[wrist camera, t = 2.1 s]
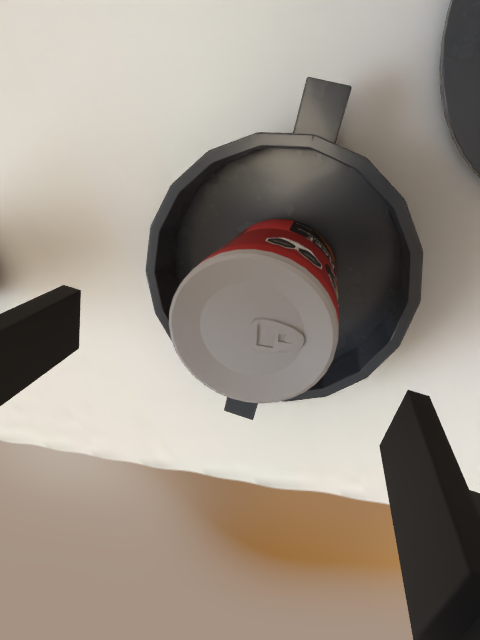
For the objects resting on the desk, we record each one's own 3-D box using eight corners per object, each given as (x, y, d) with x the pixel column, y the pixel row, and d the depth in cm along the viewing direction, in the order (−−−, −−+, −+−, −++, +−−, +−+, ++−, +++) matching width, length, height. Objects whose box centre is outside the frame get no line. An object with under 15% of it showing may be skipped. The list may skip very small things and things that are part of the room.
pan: (479, 123, 21) (507, 116, 18) (345, 425, 31) (347, 458, 27) (194, 61, 23) (169, 44, 20) (154, 362, 33) (132, 386, 29)
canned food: (344, 311, 27) (350, 399, 17) (240, 326, 29) (192, 410, 19) (327, 204, 24) (323, 233, 14) (215, 229, 27) (145, 270, 17)
